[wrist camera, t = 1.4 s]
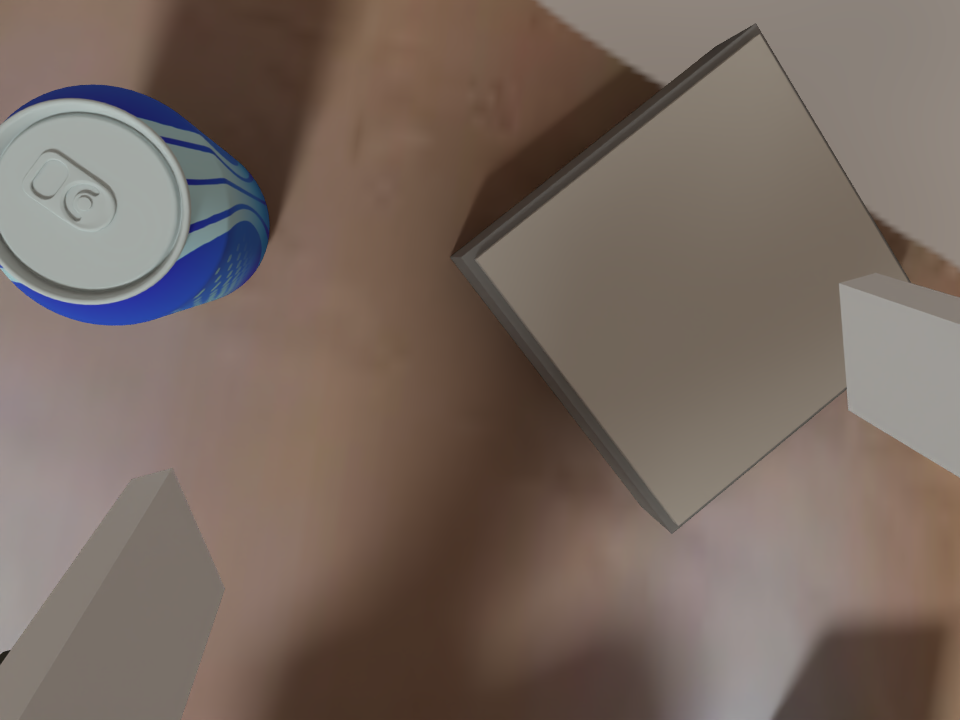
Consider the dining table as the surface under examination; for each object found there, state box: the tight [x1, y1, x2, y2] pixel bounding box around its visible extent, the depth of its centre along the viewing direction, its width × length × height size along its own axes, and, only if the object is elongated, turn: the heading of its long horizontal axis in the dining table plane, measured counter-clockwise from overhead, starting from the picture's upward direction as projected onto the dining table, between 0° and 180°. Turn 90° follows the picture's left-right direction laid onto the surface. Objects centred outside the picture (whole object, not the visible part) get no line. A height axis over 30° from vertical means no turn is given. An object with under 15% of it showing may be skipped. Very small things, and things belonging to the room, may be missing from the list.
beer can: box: [0, 85, 270, 325], centre depth 31 cm, size 8×8×16 cm
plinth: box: [450, 24, 911, 533], centre depth 42 cm, size 20×20×5 cm
